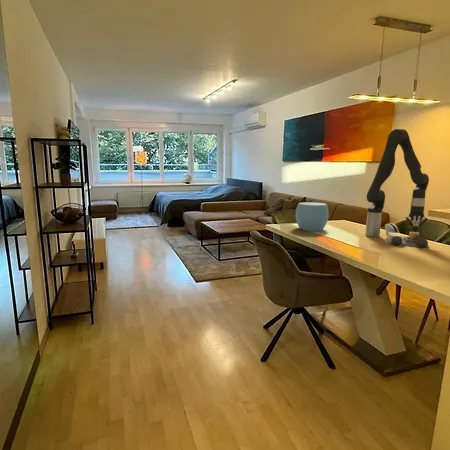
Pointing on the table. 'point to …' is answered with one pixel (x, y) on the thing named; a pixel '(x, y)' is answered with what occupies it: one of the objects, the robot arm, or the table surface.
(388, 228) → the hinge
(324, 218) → the planter
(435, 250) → the table surface
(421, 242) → the chassis
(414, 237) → the block
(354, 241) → the table surface
